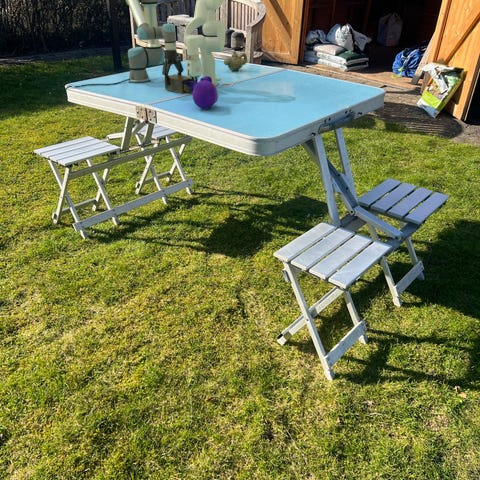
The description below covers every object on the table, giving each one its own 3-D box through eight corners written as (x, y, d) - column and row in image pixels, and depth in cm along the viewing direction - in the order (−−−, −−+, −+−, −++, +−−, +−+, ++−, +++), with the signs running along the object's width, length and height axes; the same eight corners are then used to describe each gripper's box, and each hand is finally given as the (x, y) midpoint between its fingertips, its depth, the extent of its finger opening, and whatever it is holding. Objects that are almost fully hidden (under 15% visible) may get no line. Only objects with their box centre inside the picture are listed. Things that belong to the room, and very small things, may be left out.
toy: (205, 99, 283) (218, 114, 263) (178, 94, 276) (189, 110, 255) (211, 73, 275) (224, 87, 254) (183, 68, 268) (194, 82, 247)
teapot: (227, 73, 361) (227, 53, 353) (221, 70, 369) (220, 51, 362) (250, 70, 370) (250, 50, 362) (243, 68, 378) (242, 49, 371)
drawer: (203, 91, 302) (203, 81, 299) (194, 94, 296) (193, 84, 292) (181, 86, 313) (180, 76, 310) (171, 89, 306) (170, 79, 303)
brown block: (193, 90, 308) (193, 77, 304) (182, 93, 301) (182, 80, 296) (176, 86, 317) (175, 74, 312) (165, 89, 309) (164, 76, 305)
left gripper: (162, 52, 288) (165, 87, 299) (187, 47, 304) (189, 81, 315) (154, 51, 292) (158, 86, 303) (179, 47, 308) (182, 80, 319)
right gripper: (189, 59, 282) (191, 89, 292) (205, 56, 293) (206, 85, 302) (180, 58, 287) (183, 88, 296) (196, 55, 297) (198, 84, 306)
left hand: (174, 83), depth 309 cm, fingers closed on brown block, 11 cm apart
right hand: (195, 86), depth 299 cm, fingers closed
